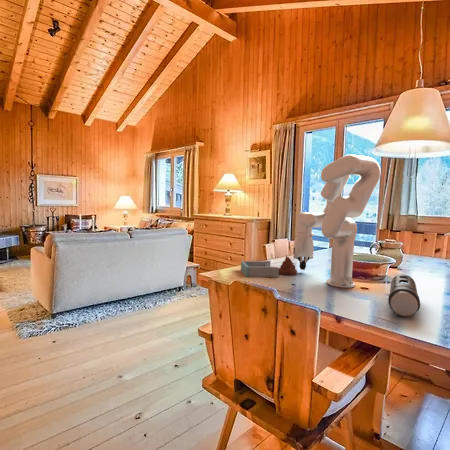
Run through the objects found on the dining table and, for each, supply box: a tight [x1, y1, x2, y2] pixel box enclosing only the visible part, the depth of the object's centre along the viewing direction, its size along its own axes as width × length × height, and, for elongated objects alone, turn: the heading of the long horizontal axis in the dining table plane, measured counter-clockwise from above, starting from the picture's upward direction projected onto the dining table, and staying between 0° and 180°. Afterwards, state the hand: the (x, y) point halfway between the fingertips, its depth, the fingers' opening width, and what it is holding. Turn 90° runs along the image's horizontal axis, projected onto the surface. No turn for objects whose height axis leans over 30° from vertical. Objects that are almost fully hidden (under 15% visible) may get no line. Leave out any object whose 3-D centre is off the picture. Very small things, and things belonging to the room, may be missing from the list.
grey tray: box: [240, 260, 280, 278], centre depth 166 cm, size 18×17×5 cm
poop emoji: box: [278, 255, 298, 276], centre depth 167 cm, size 10×9×9 cm
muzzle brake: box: [387, 273, 421, 317], centre depth 118 cm, size 10×28×10 cm, turn 151°
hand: (302, 269), depth 169 cm, fingers closed
